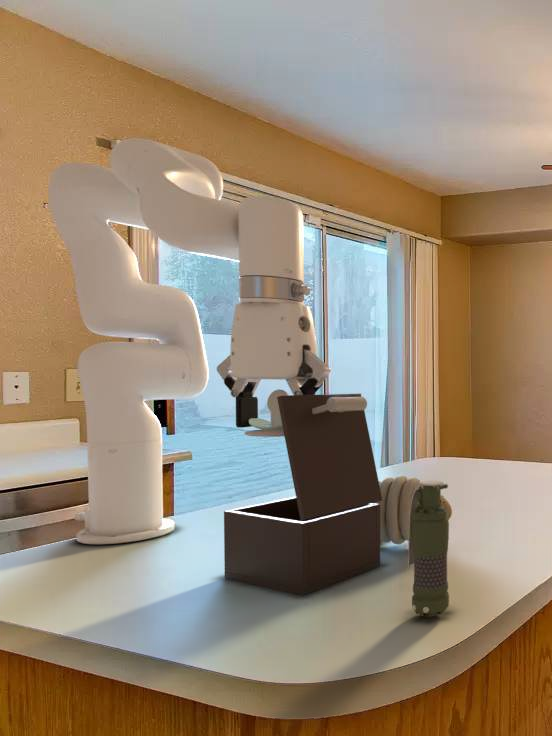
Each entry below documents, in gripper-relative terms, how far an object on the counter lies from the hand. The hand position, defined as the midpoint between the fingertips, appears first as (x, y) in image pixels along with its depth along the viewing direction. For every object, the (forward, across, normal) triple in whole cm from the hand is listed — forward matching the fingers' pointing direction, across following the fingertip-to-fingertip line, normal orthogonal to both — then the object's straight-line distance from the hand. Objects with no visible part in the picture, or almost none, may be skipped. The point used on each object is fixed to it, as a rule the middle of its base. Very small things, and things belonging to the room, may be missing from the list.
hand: (273, 426), depth 79 cm
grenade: (+20, -27, +8) cm, 35 cm away
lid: (+3, -9, 0) cm, 9 cm away
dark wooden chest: (+20, -4, -1) cm, 20 cm away
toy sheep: (+20, -10, -15) cm, 27 cm away
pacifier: (+2, 0, 0) cm, 2 cm away
